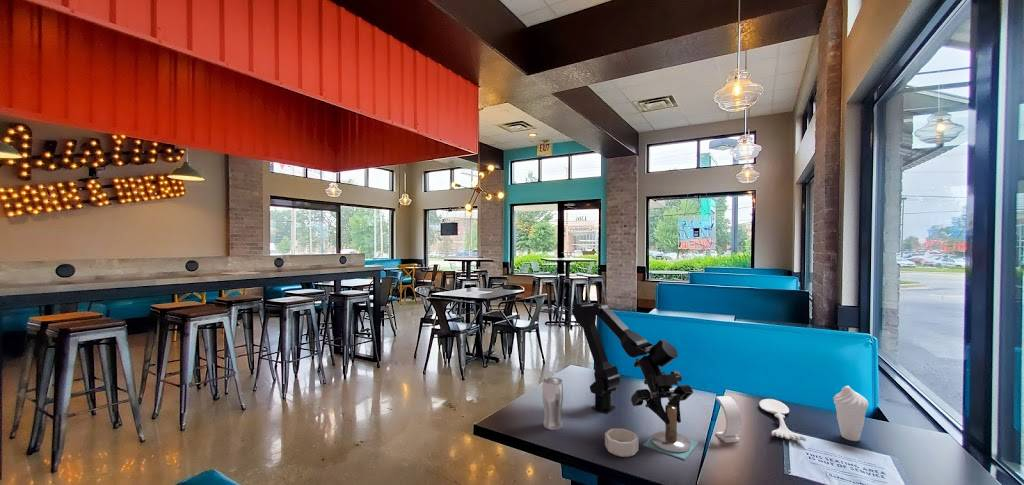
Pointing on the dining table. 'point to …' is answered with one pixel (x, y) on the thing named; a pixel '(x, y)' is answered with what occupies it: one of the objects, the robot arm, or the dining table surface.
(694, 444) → the teal rubber mat
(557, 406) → the beer glass
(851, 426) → the soft serve ice cream cone
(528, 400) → the dining table surface
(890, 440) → the dining table surface
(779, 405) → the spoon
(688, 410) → the dining table surface
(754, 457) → the dining table surface
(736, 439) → the headphone stand
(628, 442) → the cream ceramic bowl
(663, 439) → the lid with wooden handle
